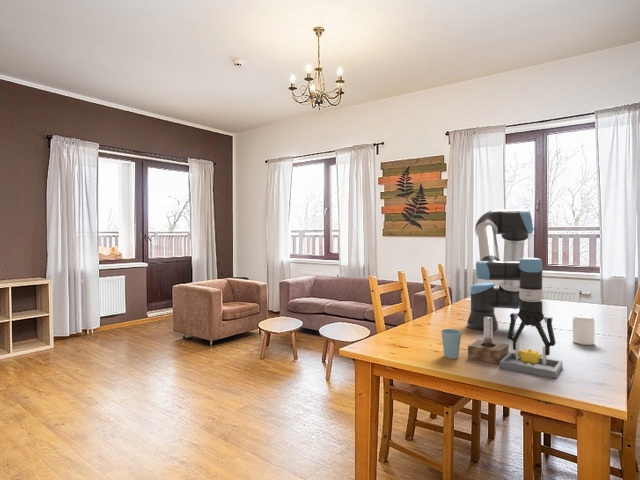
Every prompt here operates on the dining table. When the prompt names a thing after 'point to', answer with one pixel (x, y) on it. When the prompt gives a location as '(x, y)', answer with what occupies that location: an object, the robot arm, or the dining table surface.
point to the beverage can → (583, 329)
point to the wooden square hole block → (487, 351)
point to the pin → (488, 332)
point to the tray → (547, 370)
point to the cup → (451, 342)
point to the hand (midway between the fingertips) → (530, 361)
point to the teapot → (529, 356)
